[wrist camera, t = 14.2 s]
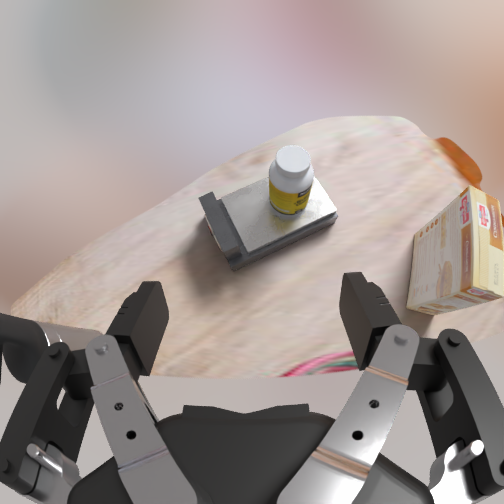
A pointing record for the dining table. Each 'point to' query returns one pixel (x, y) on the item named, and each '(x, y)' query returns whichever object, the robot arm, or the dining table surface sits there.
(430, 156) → the dining table surface
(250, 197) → the pan
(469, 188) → the coffeecake box
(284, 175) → the pill bottle
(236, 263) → the kitchen scale
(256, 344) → the dining table surface
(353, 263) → the dining table surface
